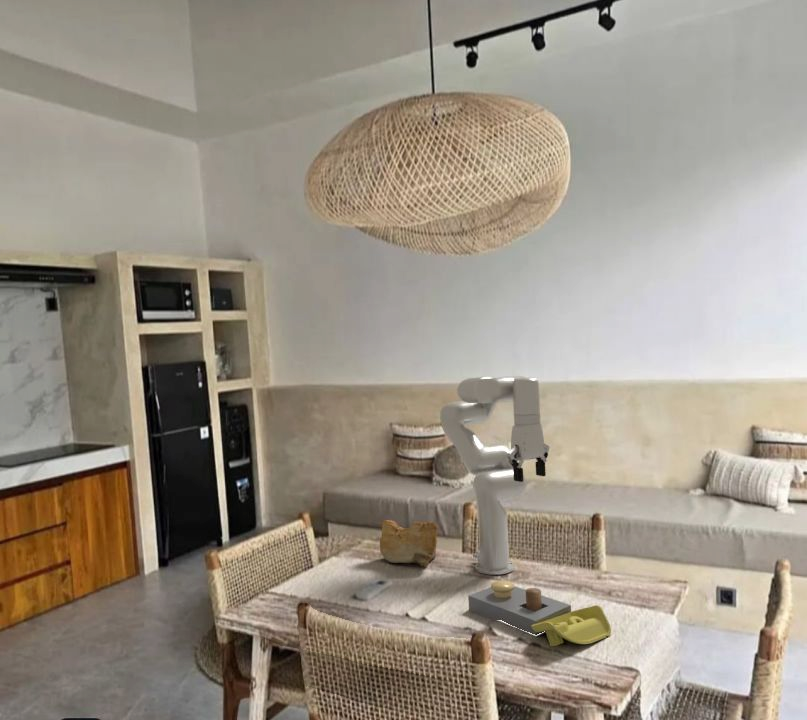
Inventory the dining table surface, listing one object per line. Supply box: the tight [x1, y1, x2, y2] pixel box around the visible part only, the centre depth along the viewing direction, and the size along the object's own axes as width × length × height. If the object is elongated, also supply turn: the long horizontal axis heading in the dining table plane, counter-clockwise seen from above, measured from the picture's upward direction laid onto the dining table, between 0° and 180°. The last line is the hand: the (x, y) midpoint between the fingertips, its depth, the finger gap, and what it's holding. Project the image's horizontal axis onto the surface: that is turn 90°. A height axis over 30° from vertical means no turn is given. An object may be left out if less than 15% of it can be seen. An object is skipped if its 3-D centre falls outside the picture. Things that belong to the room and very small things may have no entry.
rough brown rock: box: [379, 519, 439, 568], centre depth 229 cm, size 23×17×15 cm
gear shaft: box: [525, 587, 542, 612], centre depth 175 cm, size 4×4×8 cm
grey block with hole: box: [467, 580, 572, 635], centre depth 180 cm, size 24×14×7 cm, turn 38°
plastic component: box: [531, 604, 612, 647], centre depth 164 cm, size 20×7×10 cm
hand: (529, 478), depth 195 cm, fingers open, 9 cm apart
